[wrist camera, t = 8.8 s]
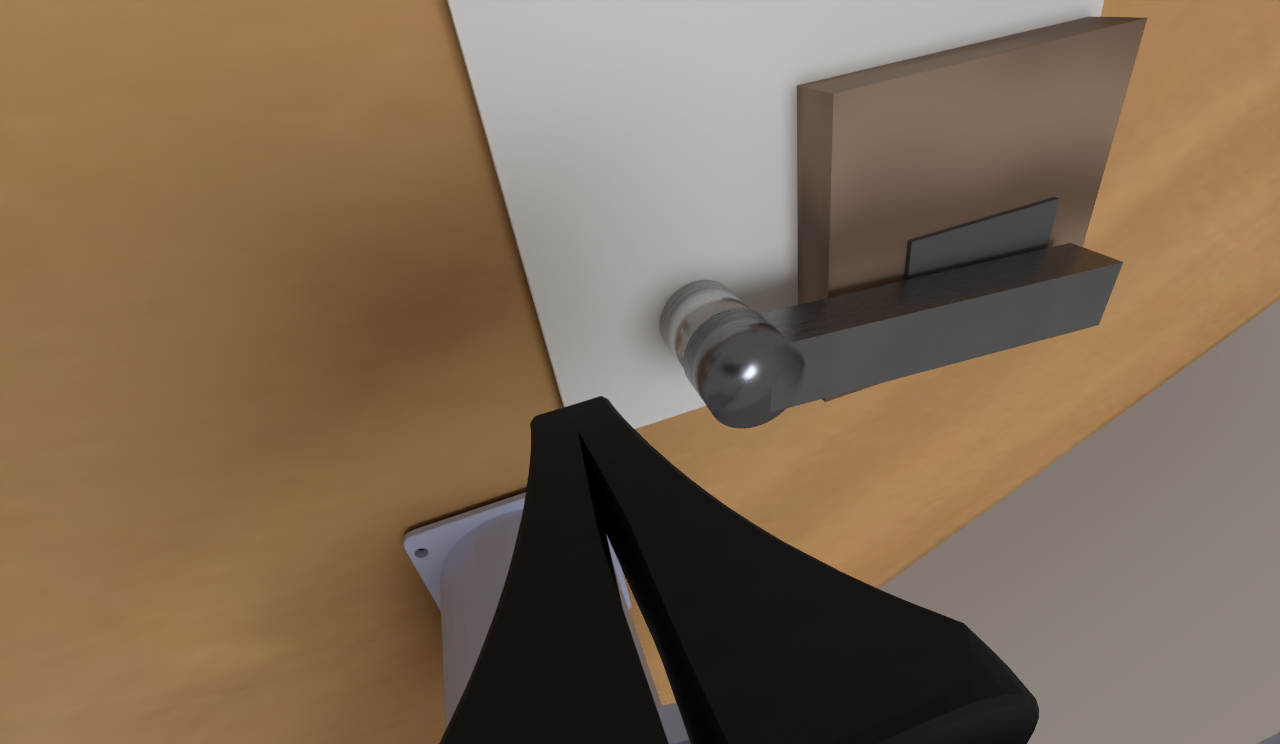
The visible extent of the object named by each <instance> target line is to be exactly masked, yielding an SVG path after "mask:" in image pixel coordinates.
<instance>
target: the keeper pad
mask: <svg viewBox="0 0 1280 744" xmlns="http://www.w3.org/2000/svg"><path fill="white" fill-rule="evenodd" d="M1058 203H1059V198H1056V197H1053V198H1050V199H1046V200H1043V201H1039V202H1036V203H1033V204H1029V205H1026V206H1022V207H1019V208H1016V209H1012V210H1009V211H1005V212H1002V213H999V214H995V215H992V216H989V217H985V218H982V219H978V220H975V221H972V222H968V223H965V224H961V225H958V226H955V227H951V228H948V229H944V230H941V231H938V232H934V233H931V234H928V235H924V236H921V237H917V238H914V239H911V240H908V244H907V254H906V263H905V273H904V280H909V279H913V278H918V277H922V276H926V275H931V274H935V273H940V272H944V271H948V270H953V269H957V268H962V267H966V266H970V265H975V264H979V263H984V262H988V261H992V260H997V259H1001V258H1006V257H1010V256H1014V255H1019V254H1023V253H1028V252H1032V251H1036V250H1041V249H1045V248H1047V247H1048V243H1049V239H1050V235H1051V231H1052V227H1053V223H1054V219H1055V215H1056V211H1057V207H1058Z"/></svg>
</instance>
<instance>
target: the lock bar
mask: <svg viewBox="0 0 1280 744" xmlns="http://www.w3.org/2000/svg"><path fill="white" fill-rule="evenodd" d="M1122 264H1123V262H1121V261H1118V260H1116V259H1113V258H1110V257H1108V256H1105V255H1102V254H1099V253H1097V252H1094V251H1091V250H1089V249H1086V248H1083V247H1081V246H1078V245H1075V244H1072V243H1067V244H1063V245H1058V246H1054V247H1050V248H1045V249H1041V250H1036V251H1032V252H1028V253H1023V254H1019V255H1014V256H1010V257H1006V258H1001V259H997V260H992V261H988V262H984V263H979V264H975V265H970V266H966V267H962V268H957V269H953V270H948V271H944V272H940V273H935V274H931V275H926V276H922V277H918V278H913V279H909V280H904V281H900V282H896V283H891V284H887V285H882V286H878V287H874V288H869V289H865V290H860V291H856V292H852V293H847V294H843V295H838V296H834V297H830V298H825V299H821V300H816V301H812V302H808V303H803V304H799V305H794V306H790V307H786V308H781V309H777V310H772V311H768V312H764V313H758V312H756V311H754V310H751V309H747V308H732V309H728V310H724V311H721V312H719V313H717V314H715V315H713V316H711V317H710V318H708V319H707V320H705V321H704V322H703V323H702V324H701V325H700V326H699V327H698V328H697V329H696V330H695V332H694V333H693V334H692V336H691V337H690V339H689V341H688V343H687V345H686V348H685V352H684V357H683V366H684V371H685V375H686V377H687V379H688V380H689V382H690V383H691V385H692V386H693V387H694V389H695V390H696V392H697V393H698V394H699V396H700V397H701V399H702V400H703V401H704V403H705V404H706V406H707V407H708V408H709V410H710V411H711V413H712V414H713V415H714V417H715V418H716V419H717V420H718V421H720V422H721V423H722V424H724V425H726V426H729V427H733V428H751V427H755V426H759V425H762V424H764V423H766V422H768V421H770V420H772V419H774V418H775V417H777V416H778V415H779V414H781V413H782V412H783V411H784V410H785V409H786V408H789V407H793V406H797V405H800V404H804V403H808V402H812V401H815V400H819V399H823V398H827V397H830V396H834V395H838V394H842V393H845V392H849V391H853V390H856V389H860V388H864V387H868V386H871V385H875V384H879V383H883V382H886V381H890V380H894V379H898V378H901V377H905V376H909V375H913V374H916V373H920V372H924V371H928V370H931V369H935V368H939V367H943V366H946V365H950V364H954V363H958V362H961V361H965V360H969V359H973V358H976V357H980V356H984V355H988V354H991V353H995V352H999V351H1003V350H1006V349H1010V348H1014V347H1018V346H1021V345H1025V344H1029V343H1033V342H1036V341H1040V340H1044V339H1047V338H1051V337H1055V336H1059V335H1062V334H1066V333H1070V332H1074V331H1077V330H1081V329H1085V328H1089V327H1092V326H1096V325H1099V323H1100V320H1101V318H1102V315H1103V312H1104V310H1105V307H1106V305H1107V302H1108V300H1109V297H1110V295H1111V292H1112V289H1113V287H1114V284H1115V282H1116V279H1117V277H1118V274H1119V271H1120V269H1121V266H1122Z"/></svg>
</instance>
